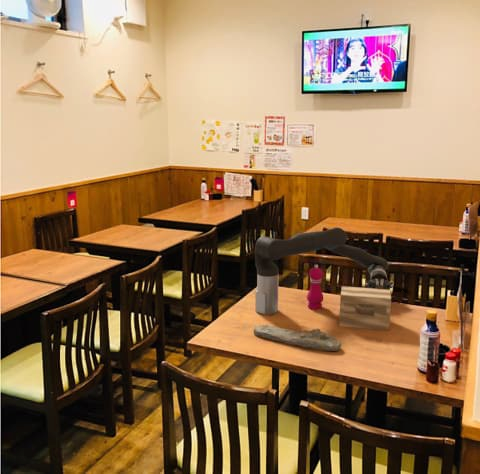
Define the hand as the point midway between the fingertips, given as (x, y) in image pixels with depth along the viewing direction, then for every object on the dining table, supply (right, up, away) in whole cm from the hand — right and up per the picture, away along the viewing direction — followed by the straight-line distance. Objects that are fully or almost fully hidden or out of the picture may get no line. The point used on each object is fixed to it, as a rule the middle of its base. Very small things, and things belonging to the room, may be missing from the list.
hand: (379, 290), depth 224 cm
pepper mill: (-28, -8, +4) cm, 30 cm away
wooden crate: (-10, -12, -14) cm, 21 cm away
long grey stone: (-40, -17, -30) cm, 53 cm away
